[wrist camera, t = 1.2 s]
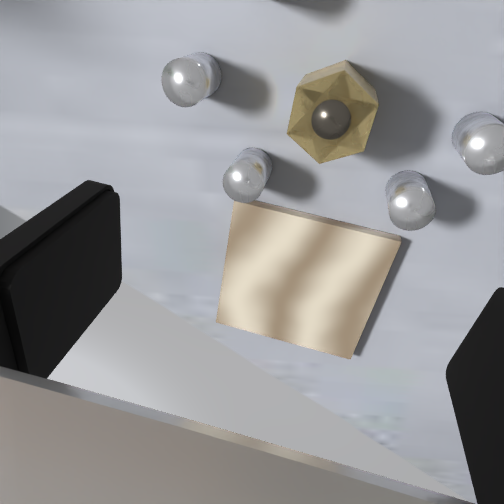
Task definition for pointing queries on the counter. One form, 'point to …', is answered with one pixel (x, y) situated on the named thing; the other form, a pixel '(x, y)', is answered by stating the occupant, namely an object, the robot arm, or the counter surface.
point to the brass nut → (333, 112)
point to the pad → (302, 276)
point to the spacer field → (398, 187)
